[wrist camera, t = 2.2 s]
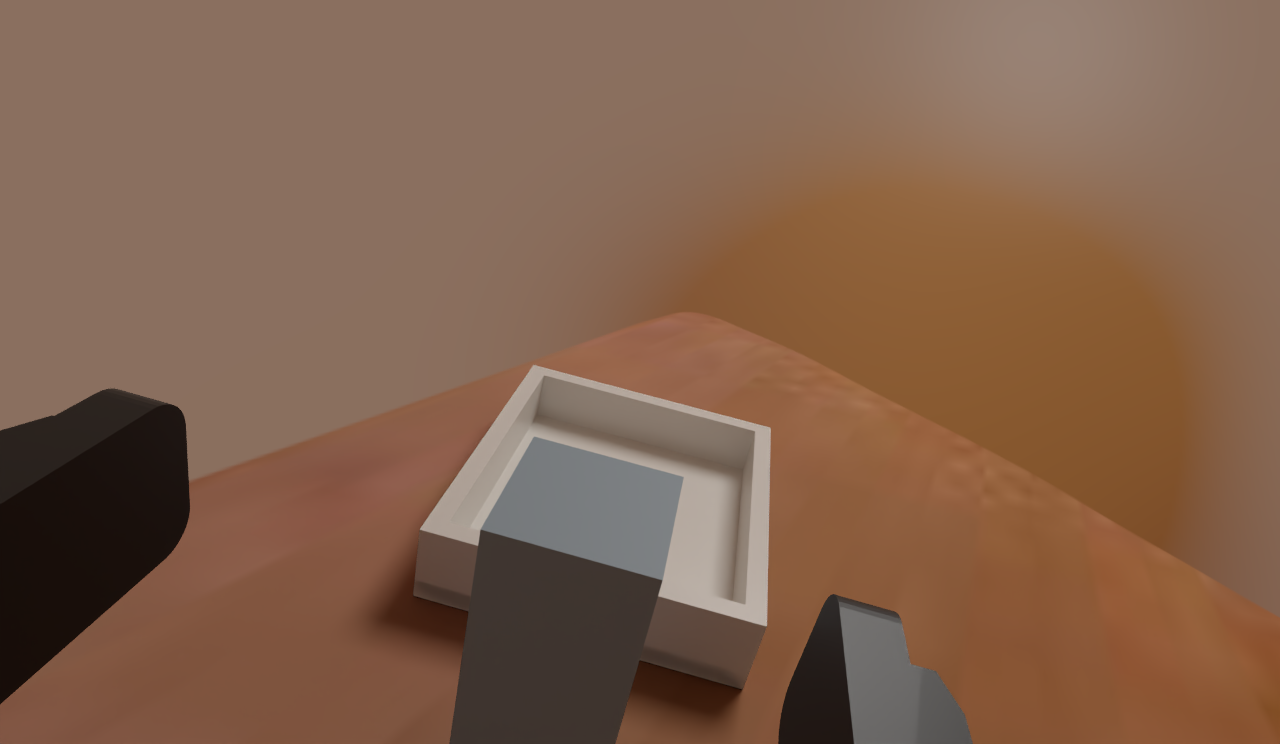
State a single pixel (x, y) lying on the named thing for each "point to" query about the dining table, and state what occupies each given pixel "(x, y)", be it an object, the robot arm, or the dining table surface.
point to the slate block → (563, 598)
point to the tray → (703, 529)
